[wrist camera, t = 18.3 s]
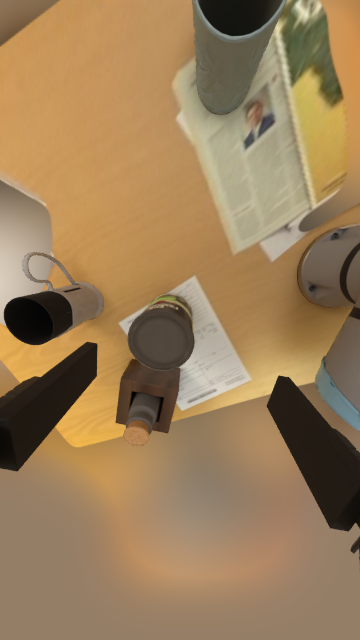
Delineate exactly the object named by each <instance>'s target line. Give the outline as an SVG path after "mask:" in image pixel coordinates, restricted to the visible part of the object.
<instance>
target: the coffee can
mask: <svg viewBox="0 0 360 640" xmlns="http://www.w3.org/2000/svg"><path fill="white" fill-rule="evenodd" d="M128 345H129V348H130V351H131V353H132V354H133V356H134V357H135V358H136V359H137V360H138V361H139V362H140V363H141V364H142V365H144V366H146V367H148V368H150V369H154V370H159V371H167V370H172V369H175V368H178V367H180V366H181V365H183V364H184V363H185V362H186V361H187V360H188V359H189V357H190V356H191V354H192V352H193V348H194V334H193V323H192V310H191V307H190V305H189V303H188V302H187V301H186V300H185V299H184V298H182V297H181V296H179V295H176V294H163V295H160V296H158V297H157V298H155V299H154V300H153V301H152V302H151V304H150V305H149V306H148V307H147V308H146V310H145V311H144V312H143V313H142V314H141V315H140V316H138V317H137V318H136V319H135V320H134V322H133V323H132V325H131V327H130V329H129V332H128Z"/></svg>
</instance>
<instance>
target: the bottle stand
mask: <svg viewBox="0 0 360 640" xmlns="http://www.w3.org/2000/svg"><path fill="white" fill-rule="evenodd" d="M179 379H180V368H175V369H172V370H167V371H159V370H154V369H150V368H148V367H146V366H144V365H142V364H141V363H140V362H139V361H138V360H135V359H132V360H131V362H130V364H129V365H128V367H127V369H126V371H125V372H124V374H123V376H122V378H121V382H120V390H119V399H118V407H117V415H116V423H118V424H124V425H126V423H127V421H128V419H129V416H128V414H129V410H130V408H131V405H132V403H133V400H134V398H135V395H136V393H137V392H139V393H144V394H149V395H154V396H159V397H161V399H160V404H159V409H158V414H157V418H156V421H155V423H154V424H153V429H152V430H154V431H159V432H164V433H168V431H169V427H170V423H171V419H172V415H173V411H174V407H175V403H176V399H177V395H178V391H179Z"/></svg>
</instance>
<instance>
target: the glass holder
mask: <svg viewBox="0 0 360 640" xmlns="http://www.w3.org/2000/svg"><path fill="white" fill-rule="evenodd" d="M33 255H40V256H44V257H47V258H49V259H50V260H52V261H53V262H55V263H56V264H57V265H58V266H59V267H60V269H61V270H62V271H63V272H64V274H65V275H66V277H67V278H68V279H69V281H70V282H71V283H72V284H71V285H70V286H65V287H60V288H55V289H53V286H52V284H51V282H50V281H48V280H37V279H35V278H34V277H33V276H32V275H31V274H30V272H29V269H28V261H29V259H30V257H31V256H33ZM22 267H23V271H24V273H25V275H26V276H27V277H28V278H29V279H30V280H31V281H34V282H39V283H43V282H46V283H47V286H48V290H46V291H42V292H40V293H37V294H32V295H27V296H23V297H18V298H14V299H12V300H11V301H10V302H8V304H7V305H6V307H5V309H4V320H5V323H6V326H7V328H8V329H9V331H10V332H11V333H12V334H13V335H14V336H15V337H16V338H17V339H19V340H20V341H22V342H24V343H27V344H30V345H41V344H44V343H46V342H48V341H50V340H51V339H54V338H57V337H59V336H61V335H62V334H64V333H66V332H68V331H69V330H71V329H73V328H75V327H76V326H78V325H80V324H81V323H83V322H85V321H87V320H90V319H94V318H96V317H97V316H99V315H100V313H101V312H102V310H103V306H104V302H103V297H102V295H101V293H100V291H99V290H98V289H97V288H96V287H95V286H93V285H92V284H90V283H87V282H83V281H80V282H75V281H74V280H73V279H72V277H71V276H70V274H69V273H68V272H67V270H66V269H65V268H64V266H63V265H62V264H61V263H60V262H59V261H58V260H56V259H55V258H53V257H52V256H49V255H47V254H44V253H37V252H33V253H28V254H27V255H25V256H24V258H23V261H22Z"/></svg>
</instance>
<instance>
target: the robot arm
mask: <svg viewBox="0 0 360 640" xmlns="http://www.w3.org/2000/svg"><path fill="white" fill-rule="evenodd" d="M297 280H298V285H299V288H300V290H301V292H302V293H303V295H304V296H305V297H306V298H307V299H308V300H310V301H311V302H313V303H316V304H318V305H321V306H325V307H333V308H338V307H352V306H354V307H353V309H352V311H351V313H350V314H349V316H348V317H347V319H346V321H345V323H344V325H343V326H342V328H341V330H340V332H339V333H338V335H337V337H336V339H335V341H334V342H333V344H332V346H331V348H330V350H329V351H328V353H327V355H326V356H324V357H323V359H322V362H321V366H320V368H319V370H318V372H317V374H316V377H315V385H316V387H317V389H318V391H319V394H320V396H321V397H322V398H323V400H324V401H325V402H326V403H327V404H328V405H329V407H330V408H331V409H332V410H333V411H334V412H335V413H336V414H337V415H339V416H340V417H341V418H342V419H343V420H345V421H346V422H347V423H348V424H349V425H351V426H352V427H354V428H355V429H356V430H358V431H359V432H360V223H357V224H353V225H348V226H343V227H338V228H335V229H332V230H330V231H327V232H326V233H324V234H322V235H321V236H319V237H318V238H317V239H315V240H314V241H313V242H312V243H311V244H310V246H309V247H308V248H307V249H306V251H305V252H304V254H303V256H302V258H301V260H300V263H299V266H298V272H297ZM96 376H97V344H96V343H91V342H86V343H85V344H83V345H82V346H81V347H80V348H78V349H77V350H76V351H74V352H73V353H72V354H70V355H69V356H68V357H66V358H65V359H64V360H63V361H61V362H60V363H59V364H57V365H56V366H55V367H53V368H52V369H51V370H49V371H48V372H47V373H46V374H44V375H43V376H42V377H36V376H35V377H32V378H30V379H28V380H25V381H23V382H22V383H20V384H19V385H18V386H16V387H15V388H14V389H13V390H11V391H9V392H8V393H6V394H5V396H2V397H1V398H0V468H2V469H8V470H13V471H18V470H19V469H20V468H21V467H22V466H23V464H24V463H25V462H26V461H27V459H28V458H29V457H30V456H31V455H32V453H33V452H34V451H35V450H36V448H37V447H38V446H39V445H40V444H41V443H42V441H43V440H44V439H45V438H46V437H47V435H48V434H49V433H50V432H51V431H52V429H53V428H54V427H55V426H56V425H57V423H58V422H59V421H60V420H61V418H62V417H63V416H64V415H65V414H66V412H67V411H68V410H69V409H70V408H71V406H72V405H73V404H74V403H75V402H76V400H77V399H78V398H79V397H80V396H81V394H82V393H83V392H84V391H85V390H86V388H87V387H88V386H89V385H90V384H91V382H92V381H93V380H94V379H95V377H96ZM267 408H268V410H269V412H270V413H271V416H272V417H273V419H274V421H275V423H276V425H277V427H278V429H279V430H280V433H281V435H282V437H283V438H284V440H285V442H286V444H287V446H288V448H289V449H290V452H291V454H292V456H293V458H294V460H295V461H296V463H297V465H298V467H299V469H300V471H301V473H302V475H303V477H304V478H305V481H306V483H307V485H308V486H309V488H310V490H311V492H312V494H313V496H314V498H315V500H316V502H317V504H318V506H319V507H320V509H321V511H322V513H323V515H324V517H325V519H326V521H327V523H328V525H329V527H330V528H333V529H338V530H344V531H349V530H350V529H351V528H352V526H353V525H354V524H355V523H357V525H358V526H359V528H360V453H359V451H357V450H356V448H355V447H354V446H353V445H352V444H351V442H350V441H349V440H348V439H347V438H346V437H345V436H343V435H342V434H341V433H340V432H338V431H337V430H336V429H333V428H332V427H331V426H330V425H329V424H328V423H327V422H326V420H325V419H324V418H323V417H322V416H321V414H320V413H319V412H318V411H317V410H316V408H314V406H313V405H312V404H311V403H310V401H309V400H308V399H307V398H306V397H305V395H303V393H302V392H301V391H300V390H299V388H298V387H297V386H296V385H295V384H294V382H293V381H292V380H291V379H290V378H289V377H284V376H278V378H277V381H276V383H275V386H274V389H273V391H272V394H271V397H270V399H269V401H268V404H267ZM358 549H359V552H360V537H359V538H358V539H357V541H356V542H355V543H354V544H353V545H352V547H351V552H353V553H355V552H356V551H357V550H358ZM359 558H360V557H359Z"/></svg>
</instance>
